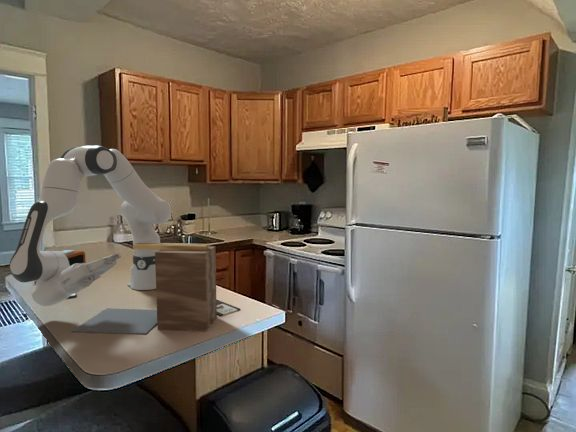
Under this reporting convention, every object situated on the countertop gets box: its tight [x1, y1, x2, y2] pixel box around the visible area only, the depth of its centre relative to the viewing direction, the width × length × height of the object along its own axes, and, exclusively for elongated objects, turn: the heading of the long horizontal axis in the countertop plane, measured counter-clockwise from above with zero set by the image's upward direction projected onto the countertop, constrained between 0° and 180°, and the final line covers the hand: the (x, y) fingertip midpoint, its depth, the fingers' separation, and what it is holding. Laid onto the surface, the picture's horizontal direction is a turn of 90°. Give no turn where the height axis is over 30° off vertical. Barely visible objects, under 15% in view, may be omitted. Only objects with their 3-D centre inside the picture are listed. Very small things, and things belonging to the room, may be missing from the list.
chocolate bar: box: [216, 298, 241, 317], centre depth 142 cm, size 9×1×18 cm
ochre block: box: [132, 242, 210, 251], centre depth 124 cm, size 4×24×2 cm, turn 86°
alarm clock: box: [60, 249, 87, 266], centre depth 186 cm, size 24×8×11 cm, turn 170°
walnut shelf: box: [155, 245, 218, 332], centre depth 125 cm, size 12×16×25 cm
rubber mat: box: [71, 308, 157, 335], centre depth 128 cm, size 20×24×1 cm
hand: (111, 257), depth 126 cm, fingers open, 8 cm apart
